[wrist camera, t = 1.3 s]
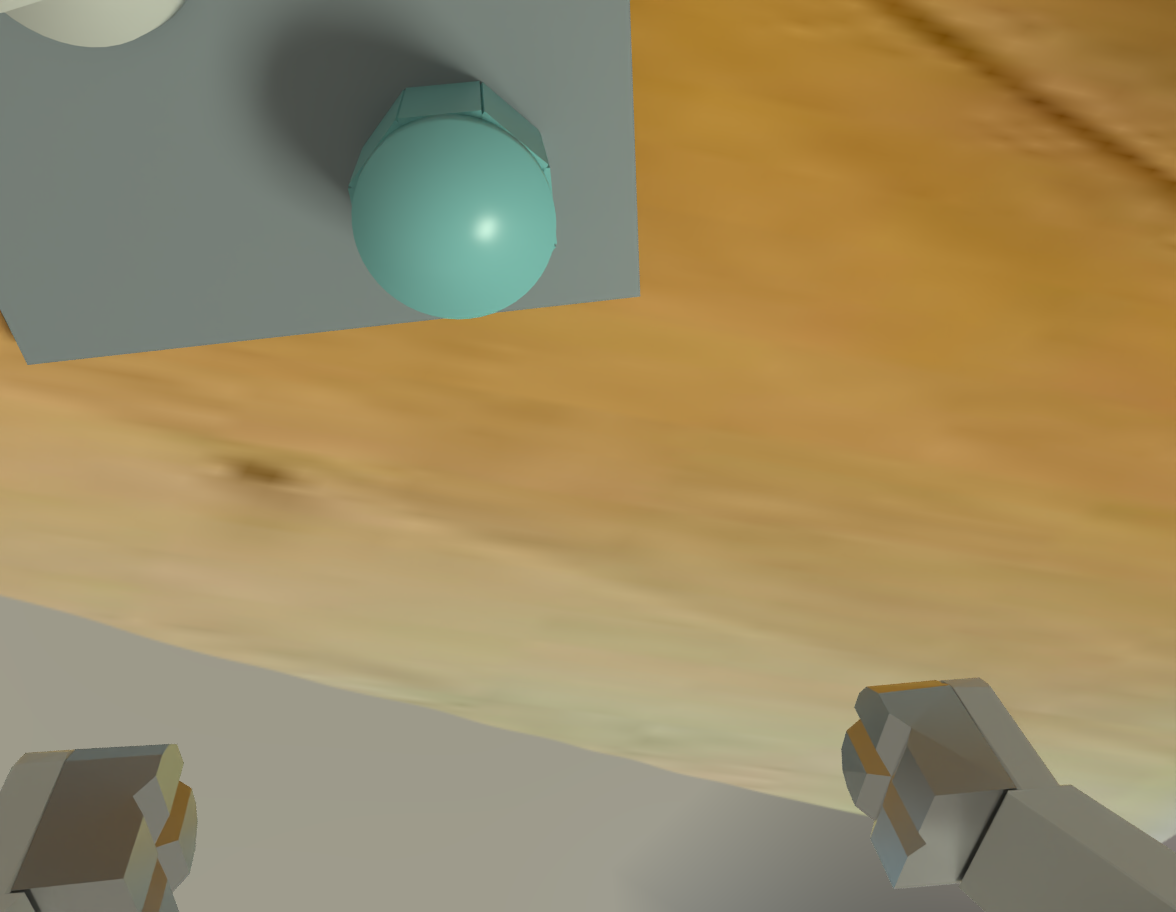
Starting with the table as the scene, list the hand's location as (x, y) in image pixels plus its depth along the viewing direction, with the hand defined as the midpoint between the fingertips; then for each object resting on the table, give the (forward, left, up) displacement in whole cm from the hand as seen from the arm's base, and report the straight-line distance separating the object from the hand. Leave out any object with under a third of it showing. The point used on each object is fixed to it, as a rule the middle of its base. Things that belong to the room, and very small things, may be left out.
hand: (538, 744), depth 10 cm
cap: (+1, 0, -23) cm, 23 cm away
